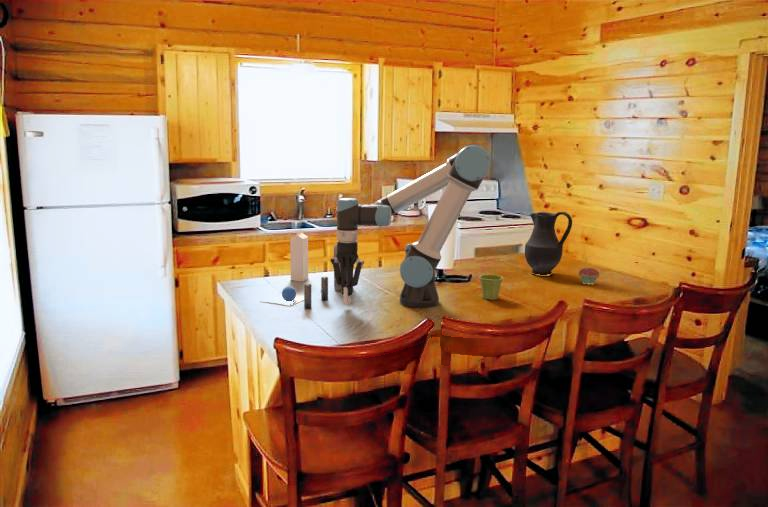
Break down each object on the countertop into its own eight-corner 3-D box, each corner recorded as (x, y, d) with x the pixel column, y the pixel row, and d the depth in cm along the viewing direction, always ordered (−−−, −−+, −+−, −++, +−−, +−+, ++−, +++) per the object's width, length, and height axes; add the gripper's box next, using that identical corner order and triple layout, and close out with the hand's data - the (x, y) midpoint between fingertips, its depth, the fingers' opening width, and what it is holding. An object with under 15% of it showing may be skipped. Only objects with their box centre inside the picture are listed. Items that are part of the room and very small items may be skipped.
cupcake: (577, 285, 269) (579, 258, 266) (579, 280, 276) (581, 254, 274) (598, 287, 266) (600, 260, 263) (599, 282, 273) (601, 256, 271)
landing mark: (310, 297, 242) (310, 296, 242) (290, 306, 230) (290, 305, 230) (279, 293, 248) (279, 292, 248) (259, 301, 235) (259, 301, 235)
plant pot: (473, 296, 248) (474, 275, 246) (493, 294, 252) (494, 273, 250) (486, 302, 240) (487, 280, 238) (506, 300, 243) (507, 278, 241)
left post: (312, 307, 228) (312, 284, 226) (309, 309, 226) (308, 286, 224) (306, 307, 229) (306, 283, 227) (303, 308, 227) (302, 285, 225)
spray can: (350, 292, 250) (350, 244, 246) (331, 291, 252) (331, 243, 248) (355, 287, 258) (356, 240, 254) (336, 286, 260) (336, 239, 256)
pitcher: (531, 268, 300) (535, 207, 294) (573, 274, 288) (579, 211, 282) (517, 274, 286) (521, 210, 280) (560, 281, 274) (565, 214, 268)
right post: (329, 299, 240) (329, 277, 238) (326, 301, 237) (325, 278, 235) (323, 298, 241) (323, 276, 239) (320, 300, 238) (320, 277, 236)
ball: (284, 288, 240) (289, 301, 240) (276, 291, 235) (282, 304, 235) (295, 283, 238) (300, 296, 238) (288, 286, 233) (293, 299, 233)
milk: (290, 280, 268) (289, 230, 264) (295, 277, 274) (294, 228, 270) (303, 281, 267) (302, 231, 262) (308, 278, 273) (307, 229, 268)
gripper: (326, 241, 222) (326, 304, 227) (358, 244, 217) (358, 308, 222) (336, 237, 229) (336, 299, 234) (367, 241, 224) (367, 303, 228)
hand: (347, 303), depth 228 cm, fingers closed
